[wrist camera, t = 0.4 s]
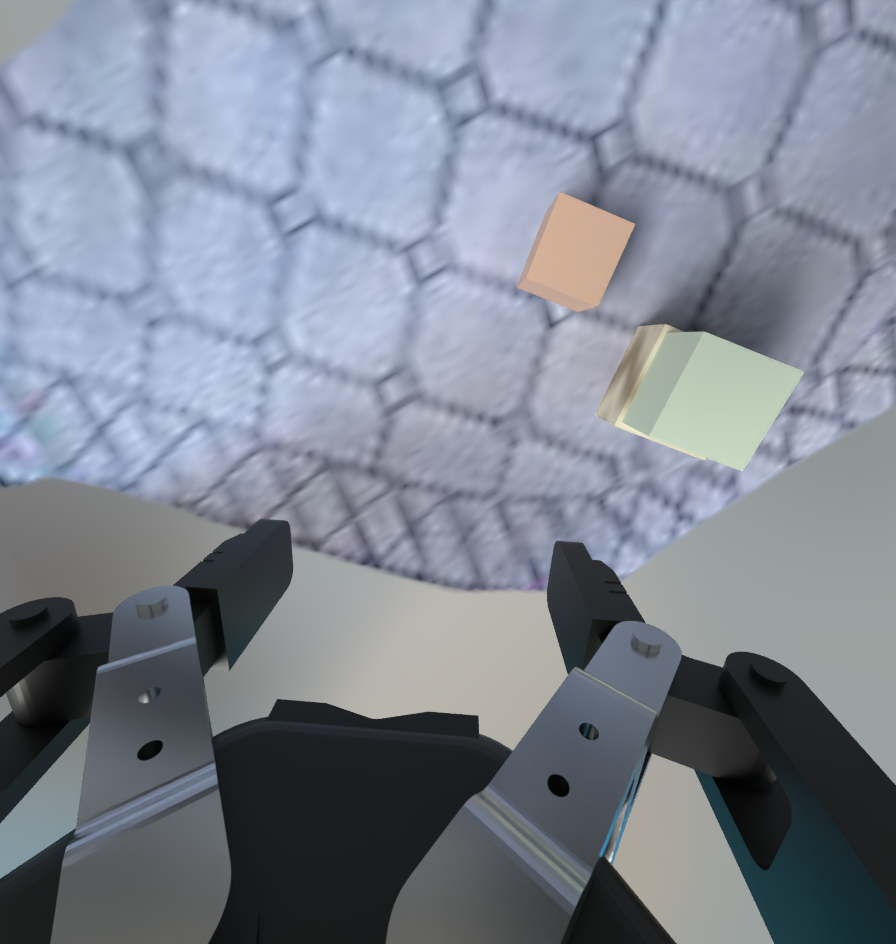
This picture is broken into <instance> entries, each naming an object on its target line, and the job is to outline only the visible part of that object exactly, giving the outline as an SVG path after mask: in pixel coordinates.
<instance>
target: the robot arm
mask: <svg viewBox="0 0 896 944" xmlns="http://www.w3.org/2000/svg"><path fill="white" fill-rule="evenodd" d="M292 574H293V560H292V545H291V532H290V525H289V523H288V522H287V521H283V520H270V519H260V520H259V521H257V522H256V523H255V524H254V525H253V526H252V527H251V528H250V529H249V530H248V531H246V532H245V533H244V534H239V535H237V536H235V537H233V538H230V539H228V540H226V541H224V542H223V543H222V544H221V545H219V547H217V548H216V549H215V550H214V551H213V553H210V554H209V555H208V556H207V557H206V558H204V559H203V562H200V563H199V564H198V565H196V566H195V567H194V568H193V569H192V570H190V571H189V572H188V573H187V574H186V575H185V576H184V577H182V578H181V579H180V580H179V581H178V582H177V583H175V584H174V585H173V586H160V587H154V588H150V589H146V590H144V591H140V592H138V593H136V594H134V595H132V596H130V597H128V598H127V599H125V600H124V601H122V602H121V603H120V604H119V605H118V606H117V607H116V608H115V610H114V612H113V613H105V614H97V615H89V616H80V617H78V616H77V613H76V609H75V606H74V603H73V601H72V600H70V599H67V598H61V597H52V598H44V599H38V600H34V601H30V602H27V603H24V604H21V605H18V606H16V607H13V608H11V609H9V610H7V611H4V612H3V613H1V614H0V697H2V696H3V695H4V694H5V693H6V695H7V697H8V700H9V702H10V705H11V708H12V710H13V711H12V712H11V713H10V714H9V715H8V716H6V717H5V718H4V719H3V720H2V721H1V722H0V823H1V822H2V821H3V820H4V819H5V817H6V816H7V815H8V814H9V813H10V812H11V811H12V809H13V808H14V807H15V806H16V805H17V804H18V803H19V801H21V800H22V798H23V797H24V796H25V795H26V794H27V793H28V792H29V791H30V789H31V788H32V787H33V786H34V785H35V784H36V783H37V781H39V779H40V778H41V777H42V776H43V775H44V774H45V773H46V772H47V770H48V769H49V768H50V767H51V766H52V765H53V764H54V763H55V761H56V760H57V759H58V758H59V757H60V756H61V755H62V754H63V753H64V751H65V750H66V749H67V748H68V747H69V746H70V745H71V744H72V742H73V741H74V740H75V739H76V738H77V737H78V735H80V734H81V732H82V731H83V730H84V729H85V728H86V727H87V726H88V724H89V723H90V727H89V734H88V742H87V749H86V757H85V765H84V772H83V780H82V788H81V796H80V803H79V811H78V818H77V825H76V828H75V829H74V830H73V831H71V832H69V833H68V834H66V835H65V836H63V837H62V838H60V839H59V840H58V841H56V842H55V843H53V844H52V845H50V846H49V847H47V848H46V849H44V850H43V851H41V852H40V853H38V854H37V855H35V856H34V857H32V858H31V859H29V860H28V861H26V862H25V863H23V864H22V865H20V866H19V867H17V868H16V869H14V870H13V871H11V872H10V873H9V874H7V875H5V876H4V877H2V878H1V879H0V944H676V943H675V941H674V940H673V939H672V938H671V936H670V935H669V934H668V933H667V932H666V931H665V929H664V928H663V927H662V926H661V924H660V923H659V922H658V921H657V919H656V918H655V917H654V916H653V915H652V913H651V912H650V911H649V910H648V909H647V907H646V906H645V905H644V904H643V902H642V901H641V900H640V899H639V898H638V896H637V895H636V894H635V893H634V891H633V890H632V889H631V888H630V887H629V885H628V884H627V883H626V882H625V881H624V879H623V878H622V877H621V876H620V874H619V873H618V872H617V871H616V870H615V868H614V867H613V866H612V864H613V861H614V858H615V855H616V852H617V849H618V847H619V843H620V840H621V837H622V834H623V831H624V829H625V826H626V823H627V820H628V817H629V815H630V812H631V810H632V807H633V804H634V802H635V799H636V796H637V793H638V790H639V788H640V786H641V783H642V780H643V778H644V775H645V772H646V770H647V767H648V764H649V762H650V759H651V756H652V754H655V755H658V756H661V757H663V758H666V759H668V760H671V761H674V762H677V763H679V764H682V765H685V766H687V767H690V768H692V769H694V770H695V772H696V774H697V777H698V779H699V781H700V783H701V785H702V788H703V790H704V792H705V794H706V796H707V798H708V801H709V803H710V805H711V807H712V809H713V811H714V814H715V816H716V818H717V820H718V822H719V824H720V827H721V829H722V831H723V833H724V835H725V838H726V840H727V842H728V844H729V846H730V848H731V850H732V853H733V855H734V857H735V859H736V861H737V864H738V866H739V868H740V870H741V872H742V875H743V877H744V879H745V881H746V883H747V885H748V887H749V890H750V892H751V894H752V896H753V898H754V901H755V903H756V905H757V907H758V909H759V911H760V914H761V916H762V918H763V920H764V922H765V925H766V927H767V929H768V931H769V933H770V935H771V938H772V940H773V942H774V944H896V785H895V784H894V783H893V782H892V781H891V780H890V779H889V777H887V775H886V774H885V773H884V772H883V771H882V770H881V768H880V767H879V766H878V765H877V764H876V763H875V762H874V761H873V759H872V758H871V757H870V756H869V755H868V754H867V753H866V751H865V750H864V749H863V748H862V747H861V746H860V745H859V744H858V742H857V741H856V740H855V739H854V738H853V737H852V736H851V735H850V734H849V732H848V731H847V730H846V729H845V728H844V727H843V726H842V724H841V723H840V722H839V721H838V720H837V719H836V718H835V717H834V715H833V714H832V713H831V712H830V711H829V710H828V709H827V708H826V706H824V704H823V703H822V702H821V701H820V700H819V699H818V697H817V696H816V695H815V694H814V693H813V692H812V691H811V690H810V688H809V687H808V686H807V685H806V684H805V683H804V682H803V681H802V680H801V679H800V678H799V677H798V676H797V675H795V674H794V673H793V672H792V671H791V670H789V669H788V668H786V667H784V666H783V665H781V664H780V663H777V662H776V661H774V660H771V659H769V658H767V657H764V656H761V655H758V654H754V653H750V652H734V653H731V654H729V655H728V656H727V658H726V661H725V664H724V666H723V668H722V667H719V666H716V665H712V664H709V663H705V662H702V661H699V660H695V659H692V658H689V657H686V656H684V655H682V652H681V649H680V647H679V645H678V644H677V643H676V641H675V640H674V639H673V638H672V637H671V636H669V635H668V634H667V633H665V632H664V631H662V630H660V629H659V628H657V627H654V626H652V625H649V624H646V623H645V621H644V619H643V618H642V616H641V615H640V613H639V611H638V610H637V608H636V606H635V605H634V603H633V602H632V600H631V598H630V597H629V595H628V594H627V592H626V590H625V588H624V587H623V585H621V582H620V580H619V579H618V577H617V575H616V574H615V572H614V571H613V570H612V569H611V568H609V567H608V566H607V565H606V564H604V563H603V562H602V561H599V560H592V559H591V557H590V555H589V553H588V551H587V549H586V548H585V546H584V544H583V543H579V542H566V541H556V543H555V545H554V549H553V555H552V562H551V568H550V574H549V580H548V587H547V602H548V608H549V612H550V615H551V619H552V622H553V625H554V629H555V632H556V636H557V639H558V643H559V646H560V649H561V653H562V656H563V659H564V663H565V666H566V670H567V673H568V676H567V678H566V679H565V680H564V682H563V683H562V684H561V686H560V687H559V689H558V690H557V691H556V693H555V694H554V695H553V697H552V698H551V700H550V701H549V702H548V704H547V705H546V707H545V708H544V709H543V710H542V712H541V713H540V715H539V716H538V717H537V719H536V720H535V721H534V723H533V724H532V726H531V727H530V728H529V730H528V731H527V733H526V734H525V735H524V737H523V738H522V739H521V741H520V742H519V743H518V745H517V746H516V748H515V749H514V750H513V751H512V750H510V749H509V748H508V747H506V746H504V745H503V744H501V743H500V742H498V741H495V740H493V739H491V738H489V737H487V736H484V735H481V734H479V724H478V723H479V722H478V721H479V720H478V716H475V715H462V714H450V713H438V712H423V713H417V714H410V715H403V716H397V717H390V718H383V719H371V718H368V717H365V716H362V715H359V714H356V713H353V712H350V711H347V710H344V709H341V708H339V707H336V706H333V705H330V704H327V703H317V702H305V701H293V700H281V699H277V701H276V703H275V705H274V707H273V709H272V711H271V713H270V714H269V716H268V717H264V718H260V719H255V720H251V721H248V722H245V723H242V724H239V725H236V726H234V727H232V728H230V729H228V730H225V731H223V732H221V733H219V734H218V735H216V736H214V737H213V734H212V728H211V722H210V715H209V709H208V703H207V697H206V691H205V685H204V679H203V677H204V676H205V674H206V673H207V672H208V671H209V670H221V671H230V669H231V668H232V666H233V665H234V664H235V662H236V661H237V659H238V658H239V656H240V655H241V654H242V652H243V651H244V649H245V648H246V647H247V645H248V644H249V642H250V641H251V639H252V638H253V637H254V635H255V634H256V632H257V631H258V629H259V628H260V627H261V625H262V624H263V622H264V621H265V620H266V618H267V617H268V615H269V614H270V612H271V611H272V610H273V608H274V607H275V605H276V604H277V602H278V601H279V599H280V598H281V597H282V595H283V594H284V592H285V591H286V590H287V588H288V587H289V584H290V582H291V578H292Z"/></svg>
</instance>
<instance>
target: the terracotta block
mask: <svg viewBox="0 0 896 944" xmlns="http://www.w3.org/2000/svg"><path fill="white" fill-rule="evenodd" d="M634 226H635V224H634V223H632V222H630V221H627V220H625V219H623V218H620V217H618V216H616V215H613V214H611V213H609V212H606V211H604V210H602V209H599V208H597V207H595V206H592V205H590V204H588V203H585V202H583V201H581V200H578V199H576V198H574V197H571V196H569V195H567V194H564V193H562V192H559V194H558V196H557V197H556V199H555V200H554V202H553V203H552V205H551V206H550V208H549V209H548V211H547V213H546V214H545V216H544V218H543V221H542V223H541V226H540V229H539V231H538V234H537V236H536V239H535V241H534V244H533V247H532V249H531V252H530V254H529V257H528V259H527V262H526V264H525V267H524V270H523V272H522V275H521V277H520V280H519V282H518V285H517V288H520V289H522V290H524V291H527V292H529V293H532V294H534V295H537V296H539V297H542V298H544V299H547V300H549V301H552V302H554V303H556V304H559V305H561V306H564V307H566V308H569V309H571V310H574V311H576V312H580V311H584V310H588V309H592V308H596V307H598V306H599V303H600V301H601V299H602V297H603V295H604V292H605V290H606V288H607V286H608V284H609V281H610V279H611V277H612V275H613V272H614V270H615V268H616V266H617V264H618V261H619V259H620V257H621V255H622V253H623V250H624V248H625V246H626V244H627V242H628V239H629V237H630V235H631V233H632V231H633V228H634Z"/></svg>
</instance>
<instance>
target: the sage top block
mask: <svg viewBox="0 0 896 944" xmlns="http://www.w3.org/2000/svg"><path fill="white" fill-rule="evenodd" d="M803 373H804V371H801V370H799V369H796V368H794V367H792V366H789V365H787V364H784V363H782V362H779V361H777V360H774V359H772V358H769V357H767V356H764V355H762V354H759V353H757V352H754V351H752V350H749V349H747V348H744V347H742V346H739V345H737V344H734V343H732V342H729V341H727V340H724V339H722V338H719V337H717V336H714V335H712V334H709V333H707V332H677V333H666V334H665V336H664V338H663V340H662V342H661V344H660V346H659V348H658V350H657V352H656V354H655V356H654V358H653V360H652V362H651V364H650V366H649V368H648V370H647V372H646V374H645V376H644V378H643V380H642V382H641V384H640V386H639V388H638V390H637V392H636V394H635V396H634V398H633V400H632V402H631V404H630V406H629V408H628V410H627V412H626V414H625V416H624V418H623V420H622V423H624V424H626V425H628V426H630V427H632V428H634V429H636V430H638V431H640V432H642V433H644V434H646V435H648V436H650V437H652V438H655V439H658V440H660V441H663V442H666V443H668V444H671V445H674V446H676V447H679V448H681V449H684V450H687V451H689V452H692V453H695V454H697V455H700V456H703V457H705V458H708V459H711V460H713V461H716V462H719V463H721V464H724V465H727V466H729V467H732V468H734V469H737V470H740V471H743V470H744V468H745V467H746V465H747V463H748V462H749V460H750V459H751V457H752V455H753V454H754V452H755V451H756V449H757V447H758V446H759V444H760V442H761V441H762V439H763V438H764V436H765V434H766V433H767V431H768V430H769V428H770V426H771V425H772V423H773V422H774V420H775V418H776V417H777V415H778V414H779V412H780V410H781V409H782V407H783V406H784V404H785V402H786V401H787V399H788V397H789V396H790V394H791V393H792V391H793V389H794V388H795V386H796V385H797V383H798V381H799V380H800V378H801V377H802V375H803Z"/></svg>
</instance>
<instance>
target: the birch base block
mask: <svg viewBox="0 0 896 944" xmlns="http://www.w3.org/2000/svg"><path fill="white" fill-rule="evenodd" d="M677 332H684V331H682V330H679V329H677V328H674V327H672V326H669V325H667V324H658V325H646V326H638V328H637V330H636V332H635V334H634V336H633V338H632V340H631V342H630V344H629V346H628V348H627V350H626V353H625V355H624V357H623V359H622V361H621V363H620V365H619V367H618V369H617V371H616V373H615V375H614V377H613V379H612V381H611V383H610V385H609V388H608V390H607V392H606V394H605V396H604V398H603V400H602V402H601V404H600V406H599V408H598V410H597V412H596V414H595V415H596V416H598V417H599V418H601V419H603V420H605V421H606V422H608V423H610V424H612V425H613V426H616V427H618V428H621V429H624V430H626V431H629V432H631V433H634V434H637V435H639V436H642V437H644V438H647V439H650V440H652V441H655V442H657V443H660V444H663V445H665V446H668V447H670V448H673V449H676V450H678V451H681V452H683V453H686V454H689V455H691V456H694V457H697V458H699V459H702V460H704V461H705V460H706V458H705V457H703V456H700V455H697V454H695V453H692V452H689V451H687V450H684V449H681V448H679V447H676V446H674V445H671V444H668V443H666V442H663V441H660V440H658V439H655V438H652V437H650V436H648V435H646V434H644V433H642V432H640V431H638V430H636V429H634V428H632V427H630V426H628V425H626V424H624V423H622V420H623V418H624V416H625V414H626V412H627V410H628V408H629V406H630V404H631V402H632V400H633V398H634V396H635V394H636V392H637V390H638V388H639V386H640V384H641V382H642V380H643V378H644V376H645V374H646V372H647V370H648V368H649V366H650V364H651V362H652V360H653V358H654V356H655V354H656V352H657V350H658V348H659V346H660V344H661V342H662V340H663V338H664V336H665V334H666V333H677Z"/></svg>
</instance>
